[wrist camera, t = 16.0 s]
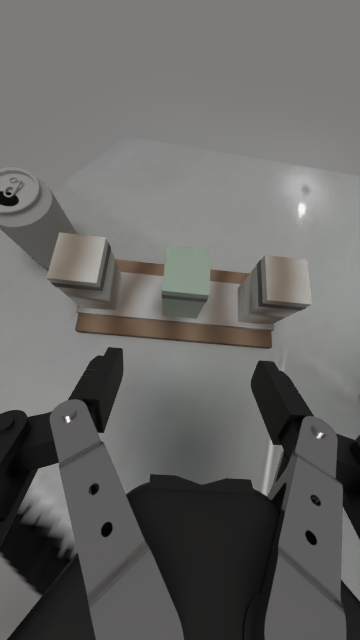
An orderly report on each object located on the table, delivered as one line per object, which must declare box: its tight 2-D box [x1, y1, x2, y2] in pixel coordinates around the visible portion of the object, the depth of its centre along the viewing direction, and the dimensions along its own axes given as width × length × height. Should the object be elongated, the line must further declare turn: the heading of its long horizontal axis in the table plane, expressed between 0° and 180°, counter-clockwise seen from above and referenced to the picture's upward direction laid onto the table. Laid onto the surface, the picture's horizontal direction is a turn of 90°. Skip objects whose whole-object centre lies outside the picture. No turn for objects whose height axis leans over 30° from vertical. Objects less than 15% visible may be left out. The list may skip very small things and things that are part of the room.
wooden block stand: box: [47, 232, 312, 348], centre depth 27 cm, size 29×12×11 cm, turn 86°
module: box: [162, 245, 211, 319], centre depth 26 cm, size 5×6×9 cm
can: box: [0, 168, 77, 269], centre depth 28 cm, size 8×8×12 cm
